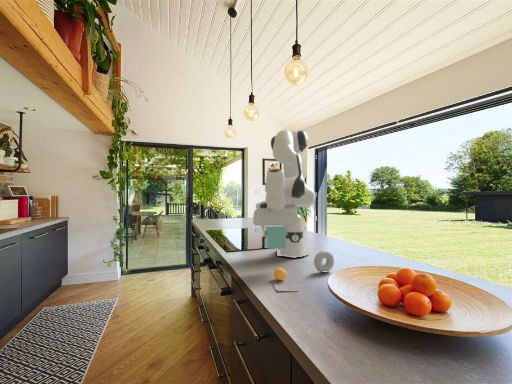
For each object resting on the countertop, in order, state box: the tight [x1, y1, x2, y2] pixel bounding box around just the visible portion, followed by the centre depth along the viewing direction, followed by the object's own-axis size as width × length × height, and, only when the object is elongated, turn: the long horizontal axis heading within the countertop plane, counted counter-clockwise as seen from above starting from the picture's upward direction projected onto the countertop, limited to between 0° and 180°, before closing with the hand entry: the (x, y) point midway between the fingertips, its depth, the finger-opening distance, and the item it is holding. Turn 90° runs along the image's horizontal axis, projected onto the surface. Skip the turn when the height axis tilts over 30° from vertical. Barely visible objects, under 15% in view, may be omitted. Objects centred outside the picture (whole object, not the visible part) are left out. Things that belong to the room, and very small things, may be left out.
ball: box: [273, 267, 287, 281], centre depth 106 cm, size 5×5×5 cm
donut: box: [313, 249, 335, 273], centre depth 116 cm, size 10×3×10 cm, turn 111°
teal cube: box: [264, 225, 286, 250], centre depth 116 cm, size 8×8×9 cm
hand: (275, 235), depth 116 cm, fingers closed on teal cube, 8 cm apart
